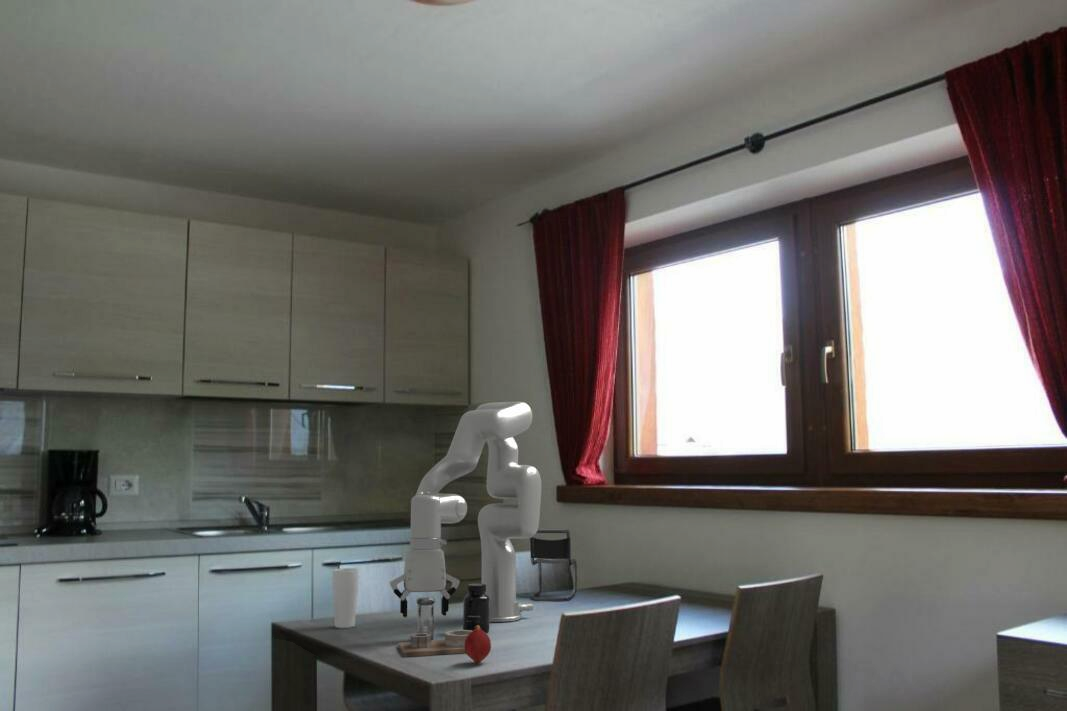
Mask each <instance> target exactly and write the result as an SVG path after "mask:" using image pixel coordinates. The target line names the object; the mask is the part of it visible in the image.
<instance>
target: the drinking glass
mask: <svg viewBox="0 0 1067 711" xmlns="http://www.w3.org/2000/svg"><path fill="white" fill-rule="evenodd" d="M358 592H359V569H358V568H353V567H352V568H350V567H349V568H348V567H347V568H346V567H344V568H343V567H342V568H336V569H333V571H332V597H333V598H332V600H333V611H334V614H333V616H334V627H335V628H336V629H351V628H354V627H355V626H356V613H357V602H358Z"/></svg>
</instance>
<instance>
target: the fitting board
mask: <svg viewBox="0 0 1067 711" xmlns="http://www.w3.org/2000/svg"><path fill="white" fill-rule="evenodd" d="M471 632H472V631H471V630H463V629H459V630H458V629H457V630H455V629H454V630H450V631H446V632H444V639H437V640H435V639H434V640H432V641H431V634H427V633H418V634H417V633H412V634H410V638H409V639H410V641H404V642H403V641H401V642H398V643H397V644H398V645H397V646H398V649H399V651H400V652H401V654H402V655H403V657H404V658H410V657H412V658H413V657H426V656H442V655H444V656H445V655H457V654H458V655H459V654H461V655H462V654H466V652H465V647H464V645H465V640H466V637H467V636H468V635H469V633H471Z"/></svg>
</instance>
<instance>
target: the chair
mask: <svg viewBox="0 0 1067 711" xmlns="http://www.w3.org/2000/svg"><path fill="white" fill-rule="evenodd" d="M536 534H566V538H561V539H541V538H535V535H534V536H533V537H532V538H529V539H530V540H529V541H530V543H529V544H530V546H529V547H530V563H531V565H532V566H535V565H537V570H538V571H537V572H538V574H537V576H538V580H537V583H538V586H537V588H538V589H537V591H536V592H535V593H534V594H533V595H532V596H530V600H531V601H534V602H569V601H571V600H572V599H573V598H574V597H575V596H576V595H577V592H578V591H577V588H578V581H577V580H578V576H577V574H578V572H577V570H578V569H577V568H578V567H577V560H576V559H575V558H572V553H571V552H572V551H571V545H572V544H571V532H570V530H569V529H538V530H537V532H536ZM571 558H572V559H571ZM565 563H567V565H568V566H569V567H570V566H572V567H573V571H572V572H573V589H572V590H573V591H572V593H571V594H570V595H569V596H568V597H538V596H539V595H541V594H542V588H543V587H542V584H543V581H542V580H543V579H542V576H543V575H542V573H543V572H542V564H553V565H554V564H565Z"/></svg>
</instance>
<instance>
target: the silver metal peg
mask: <svg viewBox="0 0 1067 711" xmlns="http://www.w3.org/2000/svg"><path fill="white" fill-rule="evenodd" d="M416 604H417V613H416V614H417V619H416V620H417V623H416V624H417V625H416V627H417V632H416V634H418V633H427V634H431V641H433V640H435V639H434V638H435V637H434V636H435V635H434V634H435V632H434V630H435V628H434V625H435V624H434V618H435V616H434V614H435V613H434V611H435V610H434V609H435V607H434V606H435V598H434V597H432V596H421V597H420V596H419V597H417V599H416Z"/></svg>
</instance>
